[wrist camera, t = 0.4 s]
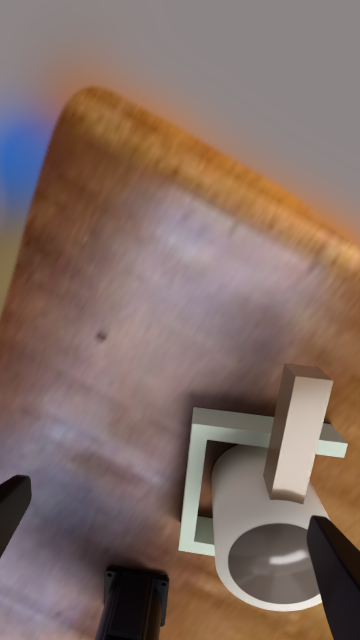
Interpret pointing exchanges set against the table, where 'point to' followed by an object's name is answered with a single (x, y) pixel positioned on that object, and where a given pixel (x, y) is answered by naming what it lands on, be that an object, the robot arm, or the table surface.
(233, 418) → the u-shaped frame
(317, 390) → the saucepan
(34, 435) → the table surface
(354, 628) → the robot arm
